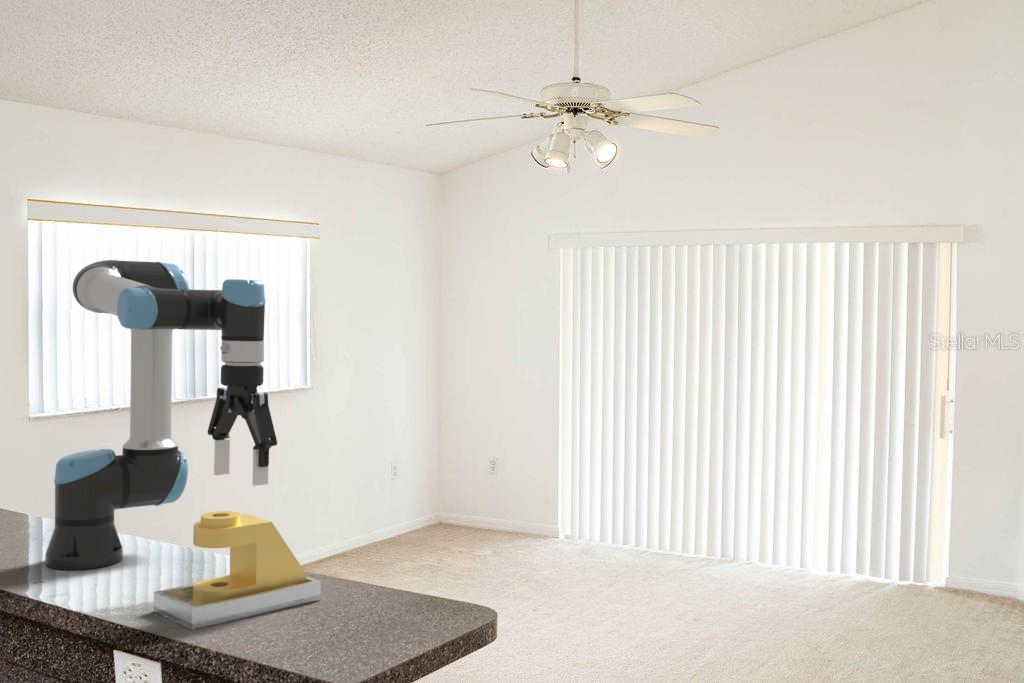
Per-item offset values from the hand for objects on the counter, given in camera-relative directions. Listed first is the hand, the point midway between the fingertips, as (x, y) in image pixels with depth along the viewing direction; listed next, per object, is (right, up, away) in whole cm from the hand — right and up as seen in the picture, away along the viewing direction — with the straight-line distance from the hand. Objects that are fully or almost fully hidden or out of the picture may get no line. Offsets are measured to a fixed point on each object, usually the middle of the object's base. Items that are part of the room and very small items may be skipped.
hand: (240, 479), depth 176 cm
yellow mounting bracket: (+1, -22, +1) cm, 22 cm away
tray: (0, -23, 0) cm, 23 cm away
